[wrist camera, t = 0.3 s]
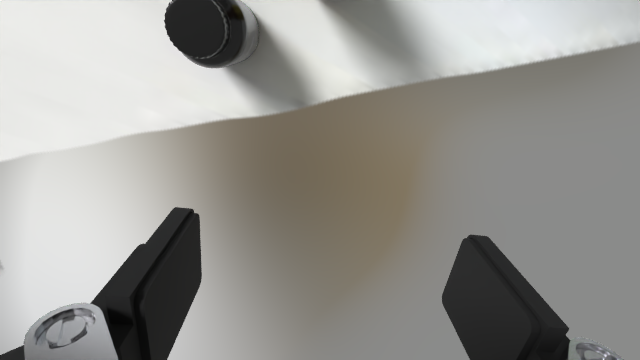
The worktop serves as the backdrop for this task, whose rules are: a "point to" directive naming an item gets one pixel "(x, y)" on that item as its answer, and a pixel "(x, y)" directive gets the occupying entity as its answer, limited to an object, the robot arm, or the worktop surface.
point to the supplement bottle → (212, 31)
